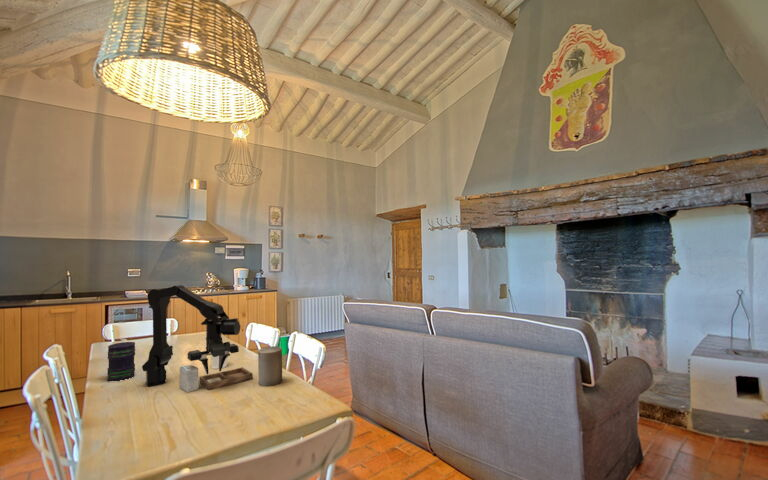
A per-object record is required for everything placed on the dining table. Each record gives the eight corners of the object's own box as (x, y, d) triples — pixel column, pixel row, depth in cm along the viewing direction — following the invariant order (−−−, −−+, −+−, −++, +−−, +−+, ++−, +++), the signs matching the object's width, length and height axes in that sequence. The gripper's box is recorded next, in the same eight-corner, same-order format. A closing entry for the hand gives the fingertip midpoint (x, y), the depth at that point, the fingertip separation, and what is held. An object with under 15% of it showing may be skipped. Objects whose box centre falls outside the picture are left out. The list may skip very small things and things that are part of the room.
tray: (207, 390, 140) (207, 384, 140) (199, 382, 149) (199, 376, 149) (252, 379, 152) (252, 373, 152) (242, 372, 161) (242, 367, 161)
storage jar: (111, 384, 149) (111, 348, 150) (104, 379, 155) (104, 345, 156) (138, 377, 157) (138, 343, 158) (130, 373, 163) (130, 340, 164)
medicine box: (198, 389, 141) (198, 367, 141) (186, 393, 138) (187, 370, 138) (191, 385, 146) (191, 364, 146) (179, 388, 143) (179, 366, 143)
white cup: (223, 369, 166) (223, 348, 167) (207, 369, 166) (207, 348, 167) (231, 364, 174) (231, 343, 174) (215, 364, 174) (215, 344, 175)
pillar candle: (285, 378, 152) (285, 343, 153) (276, 386, 142) (276, 349, 143) (264, 377, 153) (264, 343, 154) (253, 386, 143) (253, 349, 144)
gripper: (194, 342, 136) (194, 383, 135) (243, 334, 148) (243, 371, 147) (187, 337, 144) (187, 376, 143) (234, 330, 156) (234, 366, 156)
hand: (213, 372), depth 147 cm, fingers open, 5 cm apart
